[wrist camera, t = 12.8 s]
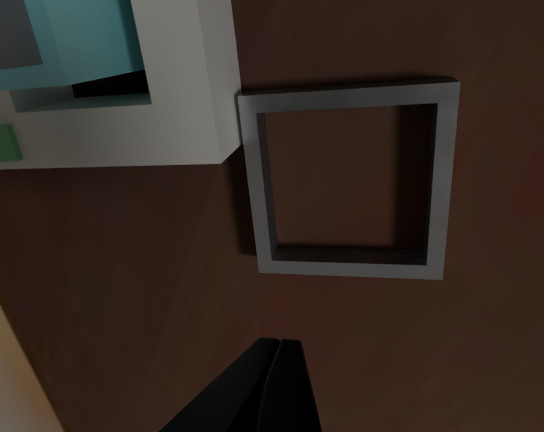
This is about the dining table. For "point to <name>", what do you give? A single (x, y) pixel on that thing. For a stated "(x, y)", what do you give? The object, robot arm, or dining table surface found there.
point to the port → (140, 100)
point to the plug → (66, 42)
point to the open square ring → (353, 259)
